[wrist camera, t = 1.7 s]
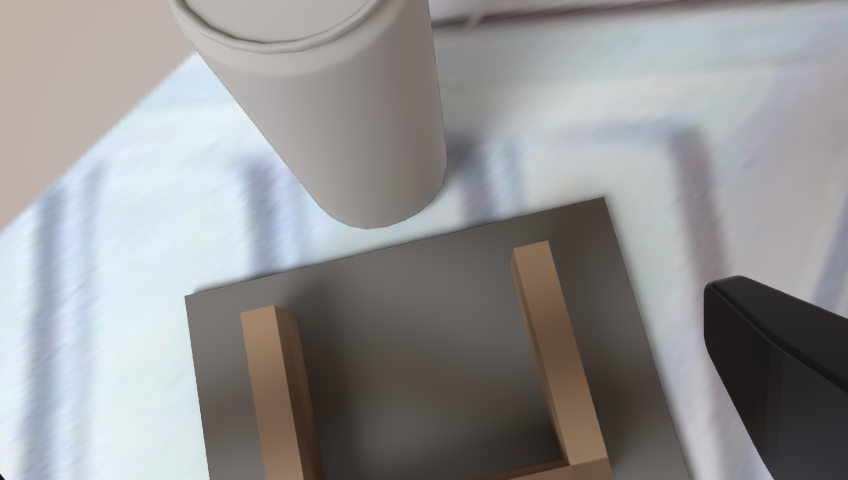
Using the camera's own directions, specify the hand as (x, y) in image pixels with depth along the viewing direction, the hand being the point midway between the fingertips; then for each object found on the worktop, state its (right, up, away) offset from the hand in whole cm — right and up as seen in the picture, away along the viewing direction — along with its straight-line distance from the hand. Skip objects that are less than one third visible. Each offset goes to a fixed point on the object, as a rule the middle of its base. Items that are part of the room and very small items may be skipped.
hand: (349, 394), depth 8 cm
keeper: (+1, -2, +13) cm, 14 cm away
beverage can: (-1, +4, +15) cm, 16 cm away
